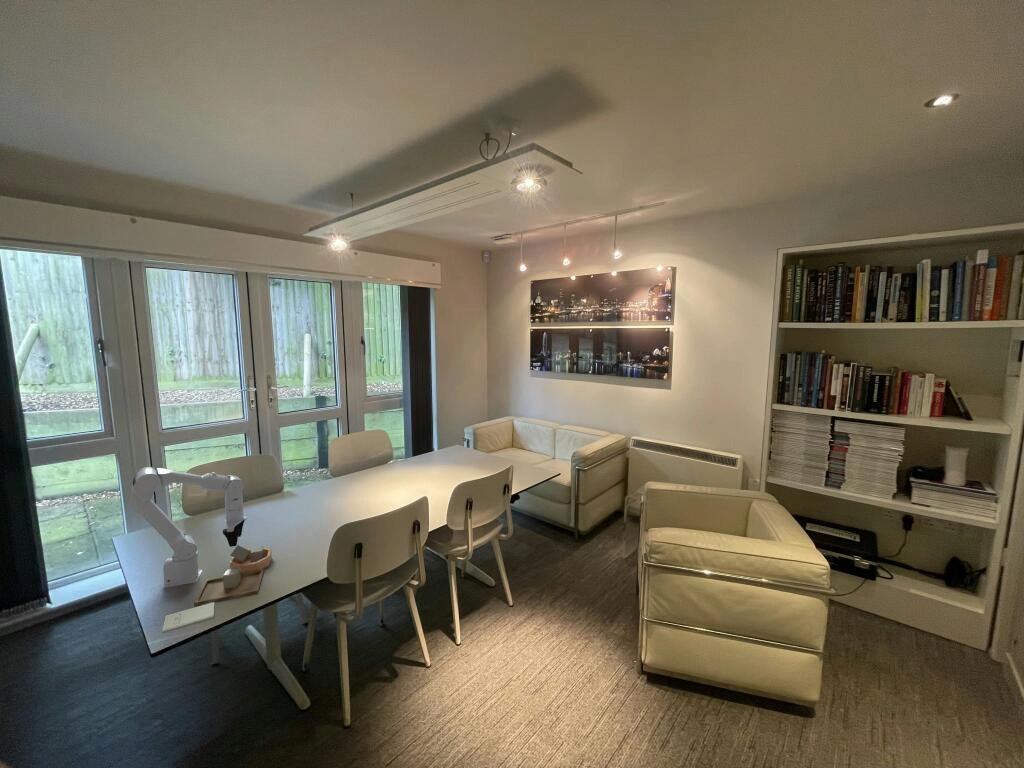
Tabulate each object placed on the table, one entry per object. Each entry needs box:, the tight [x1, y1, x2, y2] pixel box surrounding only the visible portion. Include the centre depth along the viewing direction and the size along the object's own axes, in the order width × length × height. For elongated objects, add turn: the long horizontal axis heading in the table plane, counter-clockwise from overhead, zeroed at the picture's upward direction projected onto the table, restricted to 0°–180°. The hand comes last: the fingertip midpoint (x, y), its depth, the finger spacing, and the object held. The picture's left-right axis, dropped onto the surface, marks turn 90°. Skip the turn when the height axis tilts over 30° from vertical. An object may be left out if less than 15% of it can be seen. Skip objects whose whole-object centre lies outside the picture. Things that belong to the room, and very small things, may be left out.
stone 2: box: [222, 568, 241, 588], centre depth 143 cm, size 4×4×5 cm
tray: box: [193, 569, 265, 606], centre depth 142 cm, size 18×14×1 cm
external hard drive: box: [161, 601, 216, 633], centre depth 127 cm, size 2×8×12 cm
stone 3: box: [250, 546, 265, 563], centre depth 158 cm, size 4×4×5 cm
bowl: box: [229, 546, 273, 574], centre depth 156 cm, size 13×13×4 cm
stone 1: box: [229, 544, 251, 561], centre depth 155 cm, size 4×4×5 cm
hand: (235, 541), depth 156 cm, fingers open, 7 cm apart
